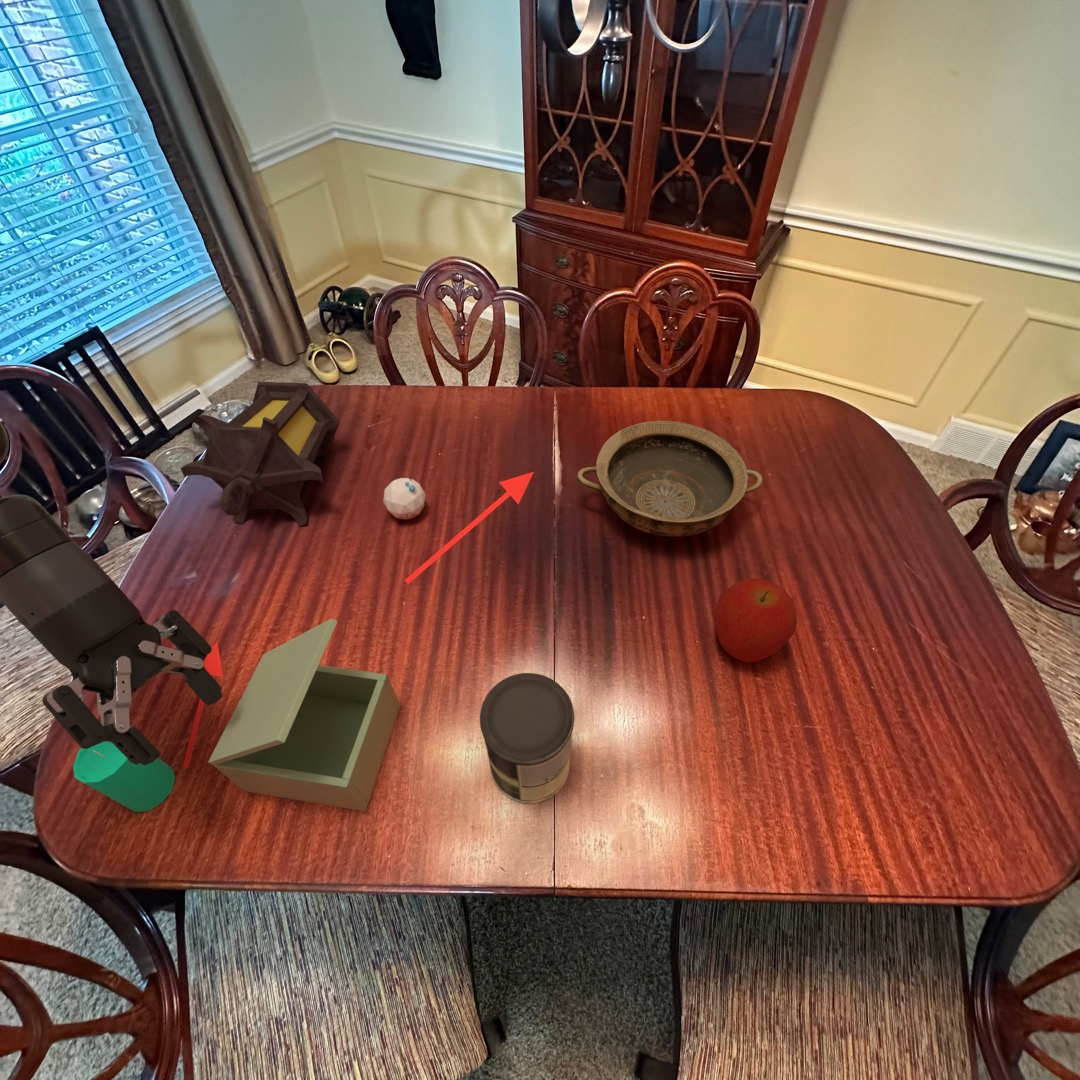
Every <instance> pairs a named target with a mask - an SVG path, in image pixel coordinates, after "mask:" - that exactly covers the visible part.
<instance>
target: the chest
mask: <svg viewBox="0 0 1080 1080" xmlns="http://www.w3.org/2000/svg"><path fill="white" fill-rule="evenodd" d="M400 708H401V703H400V702H399V699H398V697H397V695H396V692H395V690H394V688H393V686H392V684H391V680H390V678H389V676H388V674H386V673H379V672H372V671H366V670H365V671H364V670H359V669H351V668H345V667H337V666H330V665H323V664H319V665H318V667H317V670H316V672H315V674H314V677H313V679H312V681H311V683H310V686H309V688H308V690H307V692H306V695H305V697H304V699H303V702H302V704H301V706H300V708H299V711H298V713H297V715H296V717H295V720H294V722H293V724H292V727H291V729H290V731H289V733H288V736H287V738H286V740H285V742H284V743H282V744H279V745H276V746H273V747H270V748H266V749H263V750H260V751H257V752H254V753H251V754H248V755H244V756H241V757H238V758H235V759H232V760H229V761H225V762H222V763H219V764H216V765H213V764H212V766H213V767H214V768H216V769H217V770H218V771H219V772H220V773H221V774H223V775H224V776H225V777H226V778H228V779H229V780H230V781H231V782H232V783H234V784H235V785H236V786H237V787H238V788H239V789H240V790H242V791H243V792H245V793H252V794H258V795H262V796H263V795H264V796H270V797H276V798H281V799H282V798H283V799H286V800H288V799H289V800H292V801H300V802H306V803H311V804H317V805H323V806H329V807H335V808H341V809H346V810H352V811H358V812H364V813H365V812H367V810H368V806H369V803H370V800H371V796H372V794H373V791H374V788H375V784H376V782H377V778H378V775H379V773H380V769H381V766H382V764H383V760H384V757H385V754H386V751H387V747H388V745H389V742H390V740H391V739H390V738H391V735H392V732H393V729H394V726H395V723H396V720H397V718H398V714H399V711H400Z"/></svg>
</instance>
